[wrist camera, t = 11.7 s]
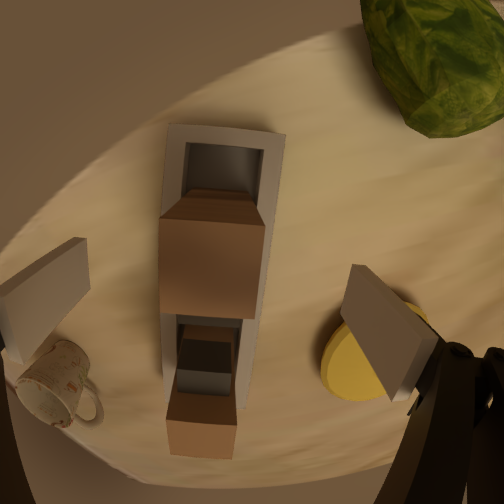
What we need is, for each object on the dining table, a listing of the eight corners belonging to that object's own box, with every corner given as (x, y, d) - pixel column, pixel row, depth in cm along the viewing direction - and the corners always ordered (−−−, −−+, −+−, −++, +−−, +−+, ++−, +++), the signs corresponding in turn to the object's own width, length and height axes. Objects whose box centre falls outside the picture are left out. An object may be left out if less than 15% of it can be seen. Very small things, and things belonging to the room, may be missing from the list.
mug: (65, 322, 32) (29, 369, 22) (130, 387, 36) (112, 441, 26) (39, 347, 33) (7, 389, 23) (98, 404, 37) (79, 451, 27)
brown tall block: (194, 187, 27) (159, 218, 13) (248, 191, 27) (265, 226, 14) (190, 263, 29) (162, 349, 16) (240, 267, 29) (249, 356, 16)
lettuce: (416, 2, 24) (442, -69, 9) (499, 131, 24) (573, 91, 9) (316, 19, 27) (310, -71, 12) (401, 165, 27) (469, 116, 12)
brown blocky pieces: (176, 128, 26) (119, 100, 11) (279, 138, 27) (332, 120, 12) (168, 378, 35) (149, 477, 21) (244, 384, 36) (253, 485, 22)
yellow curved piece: (290, 367, 36) (300, 405, 29) (368, 268, 32) (397, 295, 26) (369, 396, 40) (385, 428, 33) (436, 318, 36) (463, 344, 29)
